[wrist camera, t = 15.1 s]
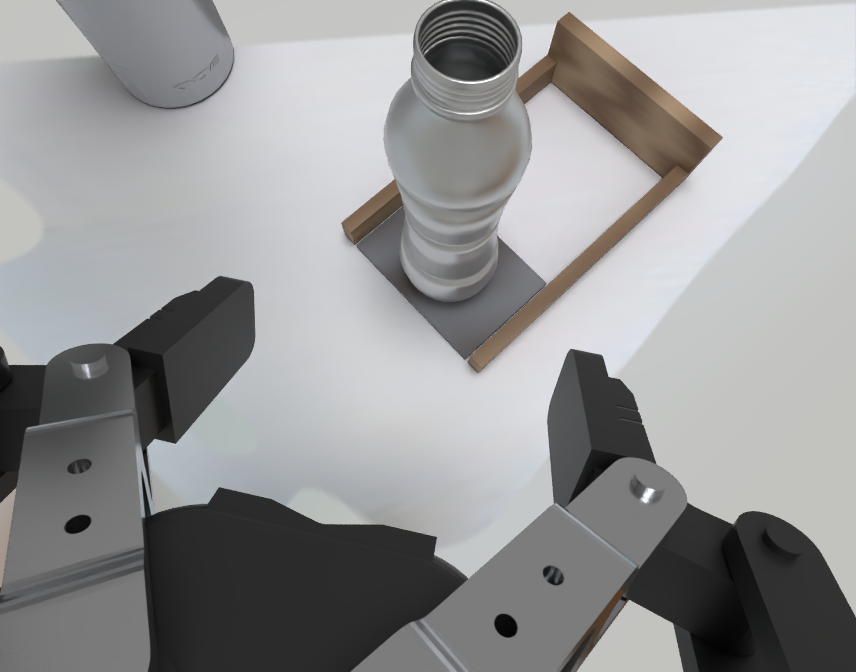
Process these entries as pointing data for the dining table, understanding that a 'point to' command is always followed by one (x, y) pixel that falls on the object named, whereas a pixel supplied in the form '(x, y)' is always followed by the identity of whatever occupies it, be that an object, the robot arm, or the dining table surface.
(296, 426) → the dining table surface
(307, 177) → the dining table surface
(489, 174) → the plastic bottle
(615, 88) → the wooden tray frame
